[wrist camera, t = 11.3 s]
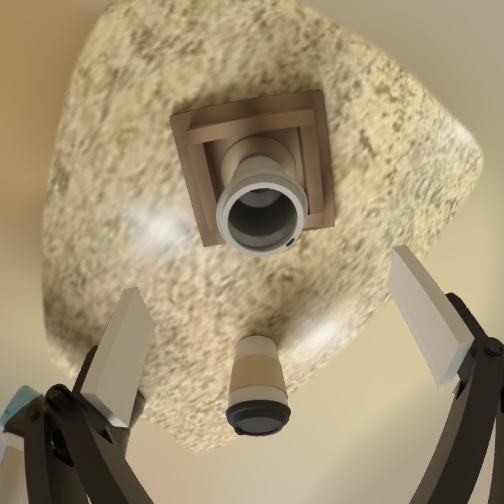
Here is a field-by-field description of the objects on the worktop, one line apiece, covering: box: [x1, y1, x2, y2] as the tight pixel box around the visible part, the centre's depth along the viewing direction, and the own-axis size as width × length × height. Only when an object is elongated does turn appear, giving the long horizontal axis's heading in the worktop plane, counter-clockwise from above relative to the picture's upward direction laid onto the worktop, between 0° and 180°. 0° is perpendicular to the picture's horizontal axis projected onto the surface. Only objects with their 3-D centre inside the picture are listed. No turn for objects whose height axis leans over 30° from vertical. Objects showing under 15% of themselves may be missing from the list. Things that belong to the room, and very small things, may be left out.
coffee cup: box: [226, 336, 291, 436], centre depth 41 cm, size 9×9×15 cm
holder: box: [169, 90, 335, 247], centre depth 31 cm, size 16×16×4 cm
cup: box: [216, 153, 308, 257], centre depth 26 cm, size 7×7×12 cm
